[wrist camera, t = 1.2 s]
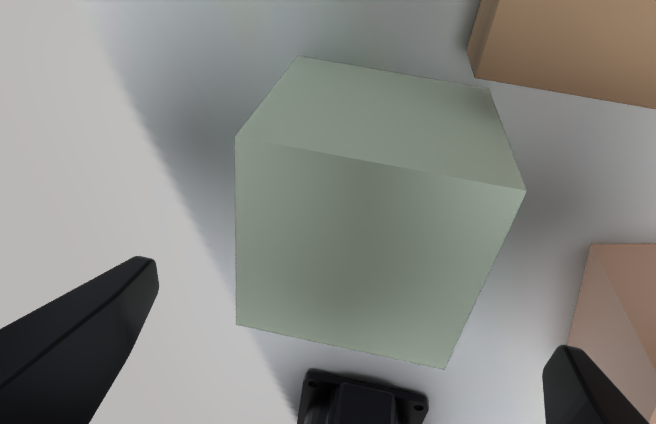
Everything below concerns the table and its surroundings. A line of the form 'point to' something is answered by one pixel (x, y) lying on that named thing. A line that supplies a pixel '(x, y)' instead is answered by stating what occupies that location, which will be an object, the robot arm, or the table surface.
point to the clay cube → (620, 319)
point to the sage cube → (370, 209)
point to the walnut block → (569, 47)
